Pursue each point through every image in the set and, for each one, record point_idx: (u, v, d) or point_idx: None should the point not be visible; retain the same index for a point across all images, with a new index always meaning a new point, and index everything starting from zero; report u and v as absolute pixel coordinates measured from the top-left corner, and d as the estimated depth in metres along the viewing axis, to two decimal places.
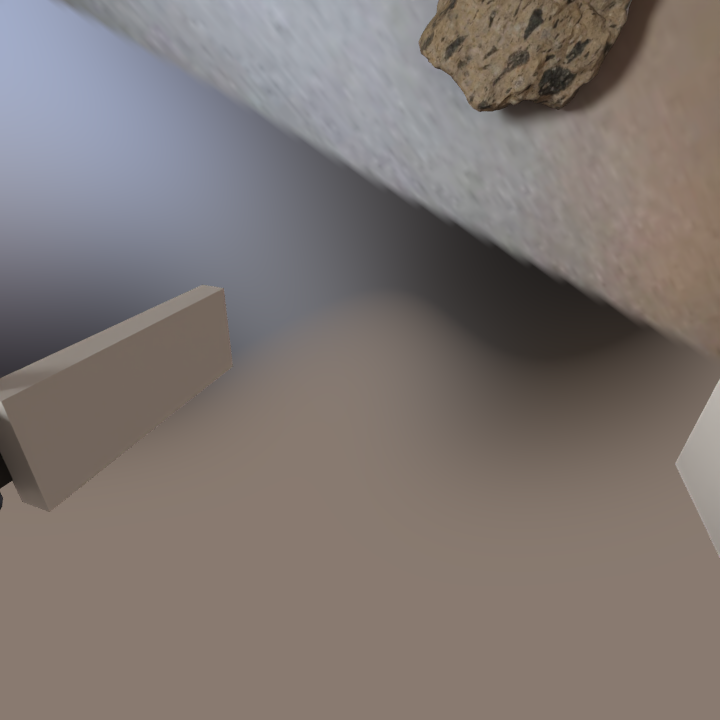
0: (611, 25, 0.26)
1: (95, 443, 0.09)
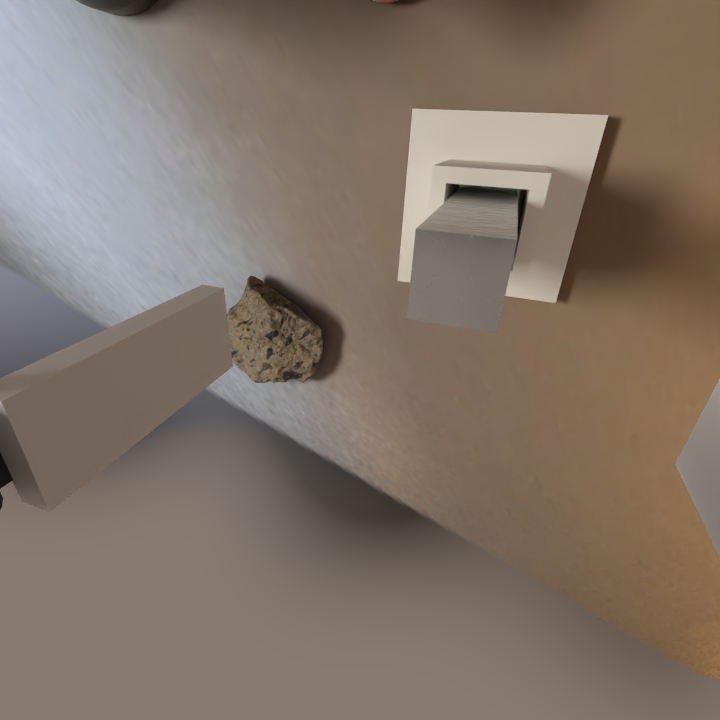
0: (314, 354, 0.46)
1: (95, 443, 0.09)
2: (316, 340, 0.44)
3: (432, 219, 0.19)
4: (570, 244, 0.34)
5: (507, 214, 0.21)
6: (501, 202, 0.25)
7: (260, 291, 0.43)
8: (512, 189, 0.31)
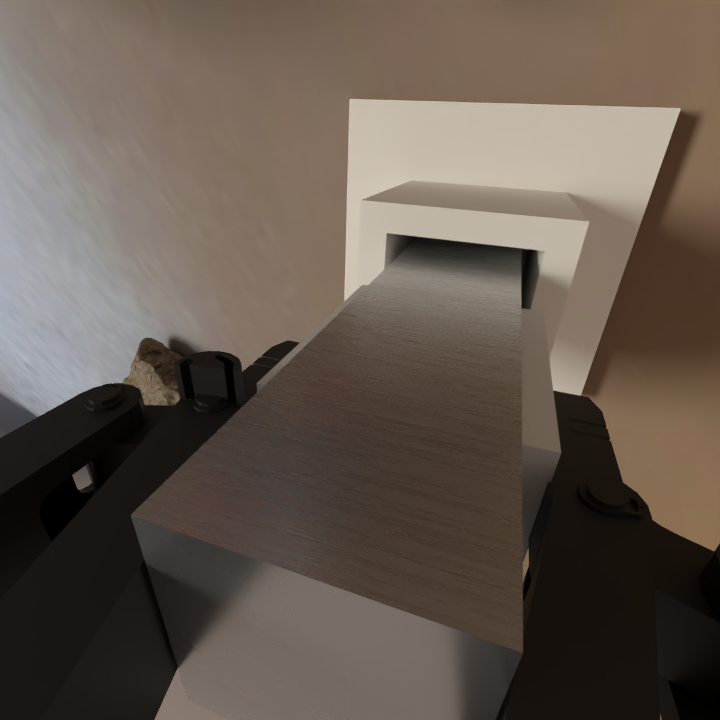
0: None
1: None
2: None
3: (269, 398, 0.07)
4: (605, 317, 0.21)
5: (496, 345, 0.09)
6: (487, 282, 0.12)
7: (155, 363, 0.30)
8: None
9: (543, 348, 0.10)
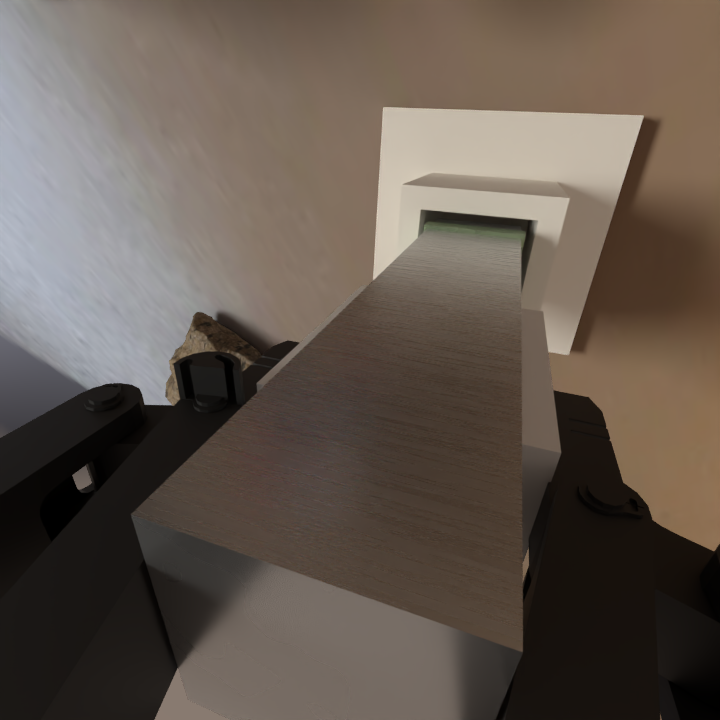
0: None
1: None
2: None
3: (269, 398, 0.07)
4: (589, 283, 0.26)
5: (496, 345, 0.09)
6: (487, 282, 0.12)
7: (207, 332, 0.35)
8: (511, 236, 0.18)
9: (543, 348, 0.10)
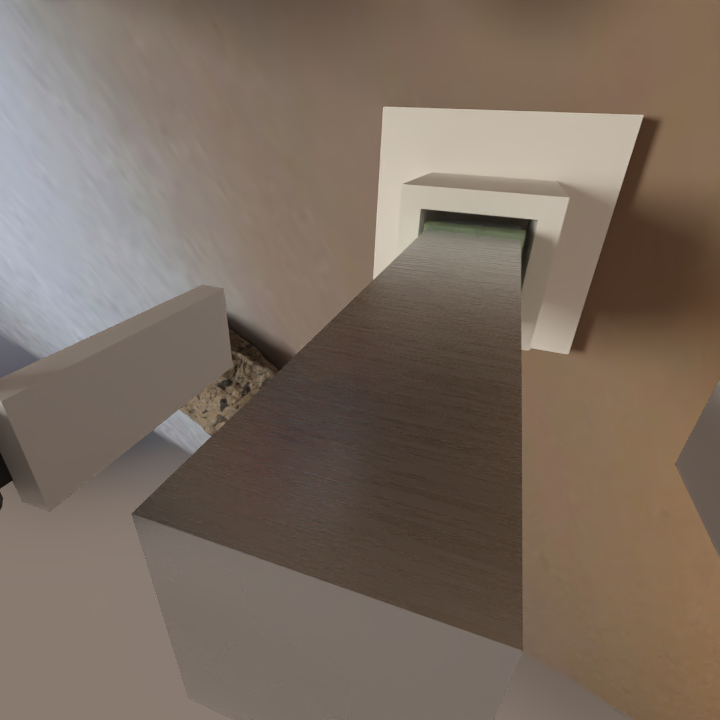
0: None
1: (95, 443, 0.09)
2: None
3: (270, 398, 0.07)
4: (588, 283, 0.26)
5: (495, 345, 0.09)
6: (487, 282, 0.12)
7: None
8: (511, 235, 0.18)
9: None
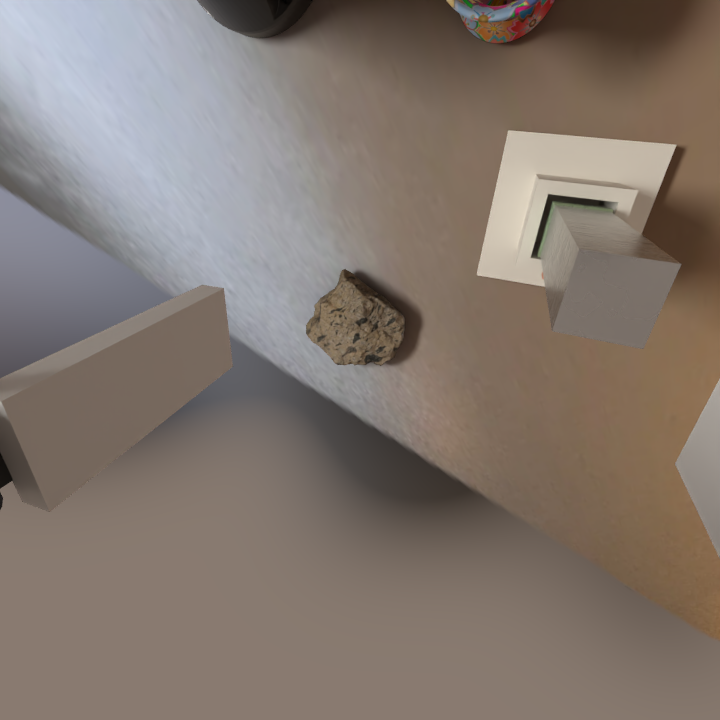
0: (395, 340, 0.52)
1: (95, 443, 0.09)
2: (400, 327, 0.51)
3: (579, 239, 0.21)
4: None
5: (636, 236, 0.23)
6: (613, 223, 0.26)
7: (354, 283, 0.50)
8: (605, 210, 0.32)
9: None
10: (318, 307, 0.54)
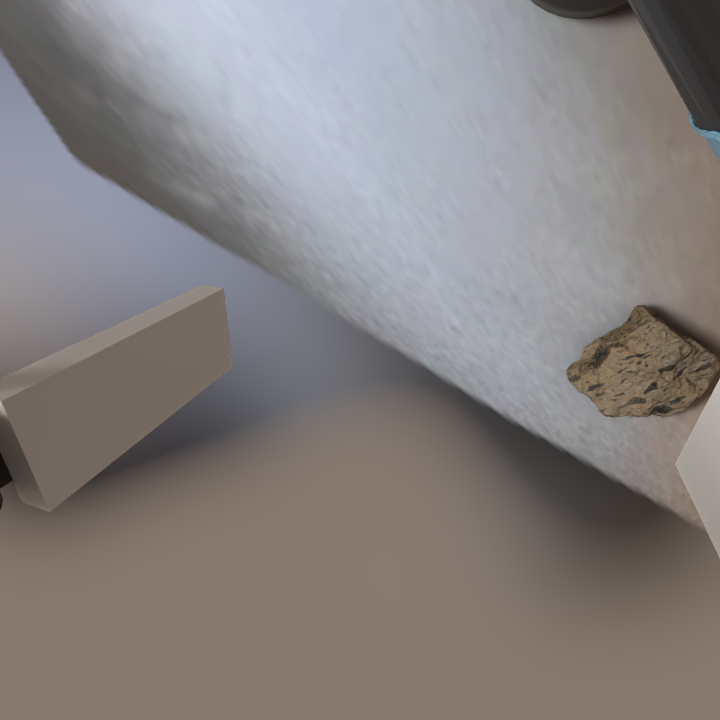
0: (699, 389, 0.42)
1: (95, 443, 0.09)
2: (713, 374, 0.41)
3: None
4: None
5: None
6: None
7: (663, 323, 0.40)
8: None
9: None
10: (591, 349, 0.44)
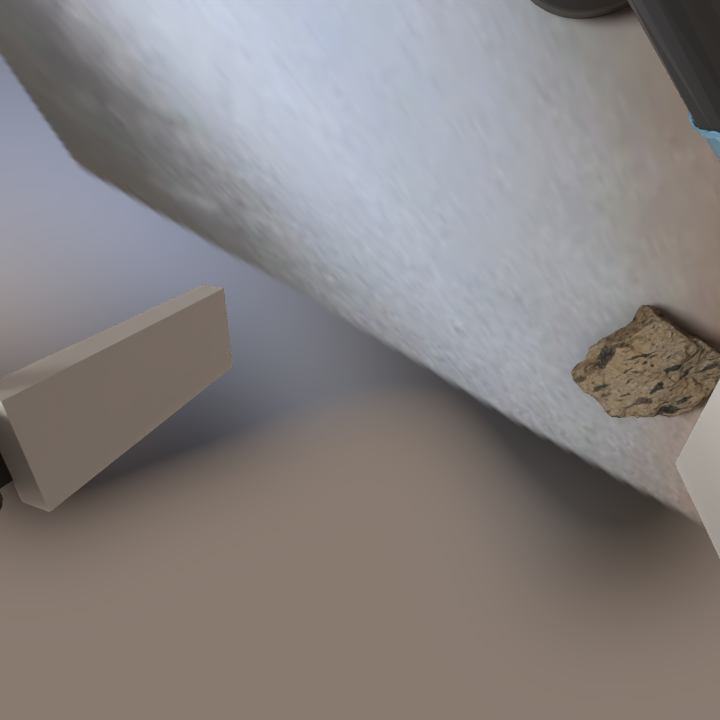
0: (706, 388, 0.42)
1: (95, 443, 0.09)
2: None
3: None
4: None
5: None
6: None
7: (669, 322, 0.40)
8: None
9: None
10: (596, 350, 0.44)
